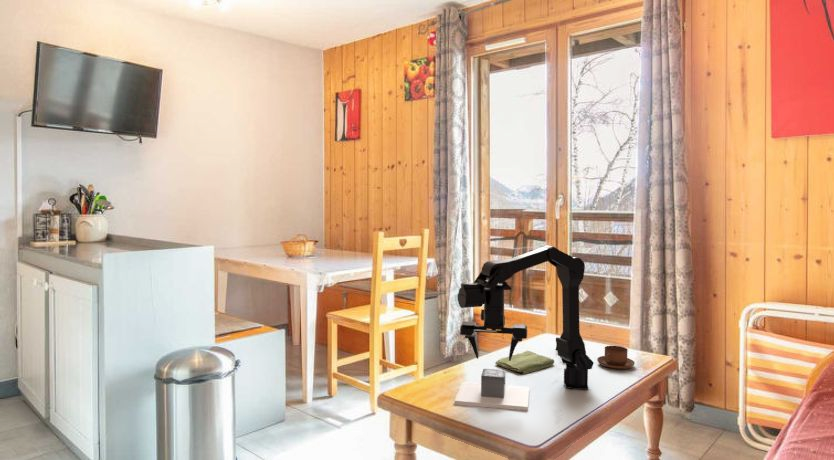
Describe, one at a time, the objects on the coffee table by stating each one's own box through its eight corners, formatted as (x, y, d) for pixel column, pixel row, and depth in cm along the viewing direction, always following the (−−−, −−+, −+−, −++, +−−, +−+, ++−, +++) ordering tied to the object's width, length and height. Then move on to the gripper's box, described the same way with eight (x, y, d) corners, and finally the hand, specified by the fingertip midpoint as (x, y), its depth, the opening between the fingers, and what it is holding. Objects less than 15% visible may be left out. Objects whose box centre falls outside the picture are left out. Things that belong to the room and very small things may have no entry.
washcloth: (493, 366, 185) (493, 357, 185) (528, 357, 196) (528, 348, 195) (521, 376, 175) (521, 366, 174) (557, 366, 185) (557, 357, 185)
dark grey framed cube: (505, 390, 158) (505, 370, 158) (503, 398, 152) (504, 377, 152) (483, 388, 160) (483, 368, 159) (481, 396, 153) (481, 375, 153)
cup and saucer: (631, 374, 177) (632, 355, 176) (593, 368, 183) (594, 350, 182) (636, 364, 187) (637, 346, 187) (601, 359, 193) (601, 342, 193)
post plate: (529, 390, 161) (529, 373, 161) (527, 410, 146) (528, 392, 145) (462, 384, 166) (462, 368, 165) (454, 404, 150) (454, 386, 150)
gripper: (528, 301, 160) (527, 353, 161) (465, 299, 164) (465, 349, 165) (527, 309, 149) (526, 364, 150) (460, 306, 153) (459, 360, 154)
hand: (493, 359), depth 155 cm, fingers open, 9 cm apart
